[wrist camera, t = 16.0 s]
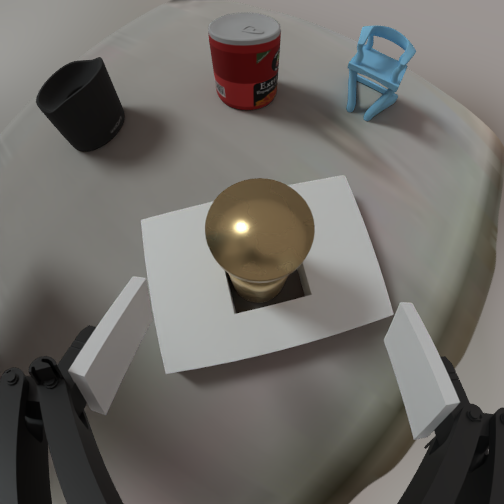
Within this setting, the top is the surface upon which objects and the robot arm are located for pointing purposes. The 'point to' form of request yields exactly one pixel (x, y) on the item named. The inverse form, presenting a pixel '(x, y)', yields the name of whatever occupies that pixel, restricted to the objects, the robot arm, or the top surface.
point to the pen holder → (82, 104)
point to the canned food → (245, 59)
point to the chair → (378, 68)
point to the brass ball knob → (259, 235)
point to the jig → (270, 317)
